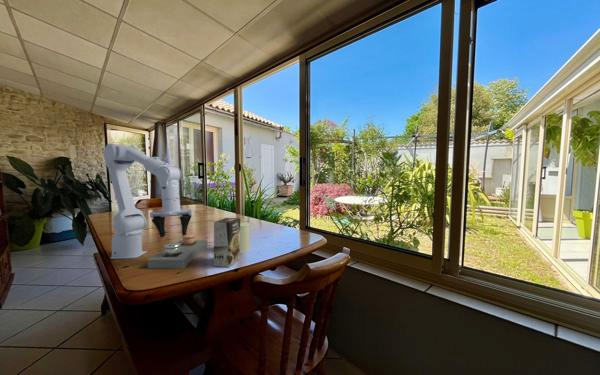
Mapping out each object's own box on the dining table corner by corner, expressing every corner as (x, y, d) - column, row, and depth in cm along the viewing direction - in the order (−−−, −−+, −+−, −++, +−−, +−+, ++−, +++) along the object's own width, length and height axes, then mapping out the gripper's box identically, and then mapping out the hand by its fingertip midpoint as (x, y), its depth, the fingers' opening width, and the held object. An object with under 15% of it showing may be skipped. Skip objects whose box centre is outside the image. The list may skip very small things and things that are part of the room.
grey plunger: (162, 257, 87) (161, 246, 87) (169, 252, 92) (169, 242, 92) (176, 257, 87) (176, 246, 87) (183, 252, 92) (183, 242, 92)
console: (147, 268, 84) (147, 259, 84) (180, 247, 109) (180, 240, 109) (183, 268, 85) (182, 259, 84) (207, 246, 109) (207, 240, 109)
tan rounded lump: (179, 246, 101) (179, 236, 101) (185, 242, 106) (185, 233, 106) (192, 246, 101) (192, 236, 101) (197, 242, 106) (197, 233, 106)
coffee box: (229, 267, 85) (229, 222, 85) (213, 266, 87) (212, 221, 86) (241, 259, 94) (241, 217, 94) (225, 257, 96) (225, 217, 95)
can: (252, 247, 109) (252, 221, 109) (244, 254, 100) (244, 225, 100) (233, 246, 111) (233, 220, 110) (223, 252, 102) (223, 224, 101)
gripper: (144, 201, 84) (147, 239, 85) (187, 198, 86) (190, 236, 86) (154, 199, 91) (156, 235, 92) (194, 197, 93) (196, 232, 93)
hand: (173, 235), depth 90 cm, fingers open, 7 cm apart
